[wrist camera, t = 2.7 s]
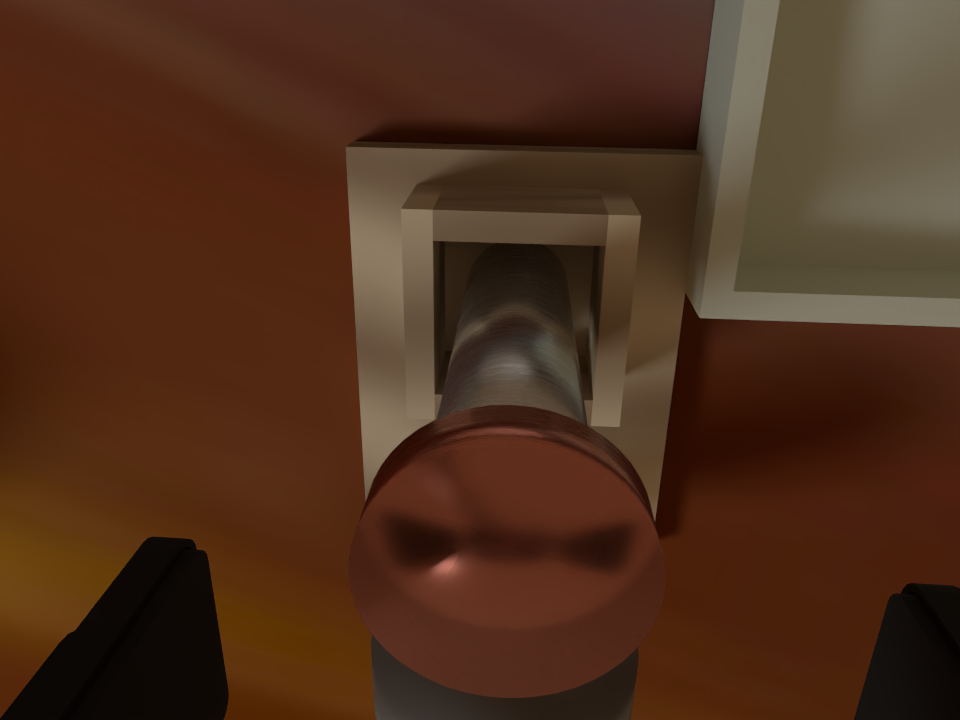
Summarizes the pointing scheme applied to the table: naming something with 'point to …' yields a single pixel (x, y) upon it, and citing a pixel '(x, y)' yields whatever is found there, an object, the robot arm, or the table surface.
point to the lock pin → (509, 508)
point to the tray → (830, 163)
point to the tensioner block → (595, 311)
